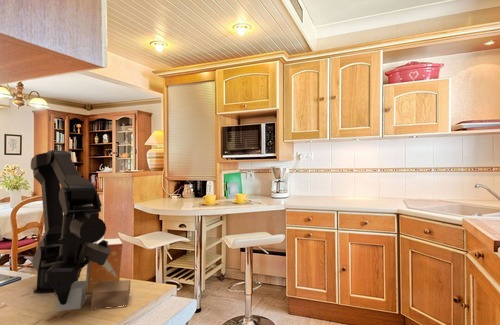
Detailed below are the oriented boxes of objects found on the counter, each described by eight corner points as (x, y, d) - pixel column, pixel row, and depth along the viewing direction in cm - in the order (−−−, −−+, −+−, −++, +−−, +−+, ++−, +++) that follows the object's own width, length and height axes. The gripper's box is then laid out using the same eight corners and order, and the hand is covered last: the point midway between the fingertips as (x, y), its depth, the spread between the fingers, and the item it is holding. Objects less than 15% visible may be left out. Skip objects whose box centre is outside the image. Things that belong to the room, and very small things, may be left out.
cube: (56, 310, 69) (57, 289, 70) (63, 301, 74) (64, 281, 74) (80, 309, 71) (81, 288, 71) (85, 300, 76) (86, 280, 76)
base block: (90, 309, 71) (91, 292, 71) (96, 297, 77) (97, 281, 77) (126, 306, 73) (127, 290, 73) (129, 295, 80) (130, 280, 80)
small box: (86, 294, 79) (90, 245, 79) (85, 285, 84) (89, 239, 84) (119, 289, 83) (123, 243, 83) (115, 281, 88) (119, 237, 89)
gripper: (104, 244, 67) (97, 313, 67) (114, 226, 85) (108, 281, 84) (48, 243, 63) (39, 316, 63) (70, 225, 81) (64, 282, 81)
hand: (68, 296), depth 73 cm, fingers open, 8 cm apart
